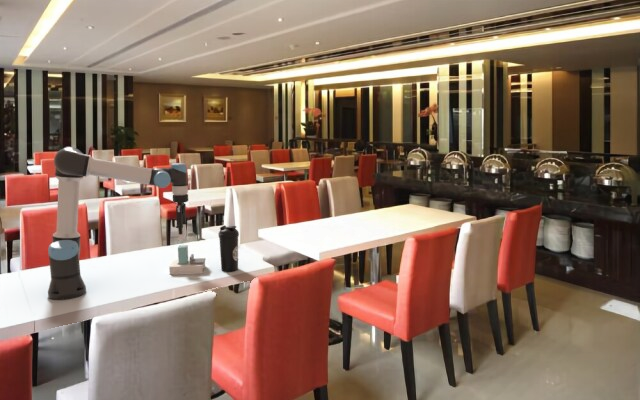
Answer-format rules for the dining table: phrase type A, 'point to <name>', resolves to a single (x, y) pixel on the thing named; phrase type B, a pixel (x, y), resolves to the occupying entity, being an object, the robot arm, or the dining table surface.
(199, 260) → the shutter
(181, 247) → the teal block
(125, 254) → the dining table surface
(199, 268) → the socket block
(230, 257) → the water bottle
